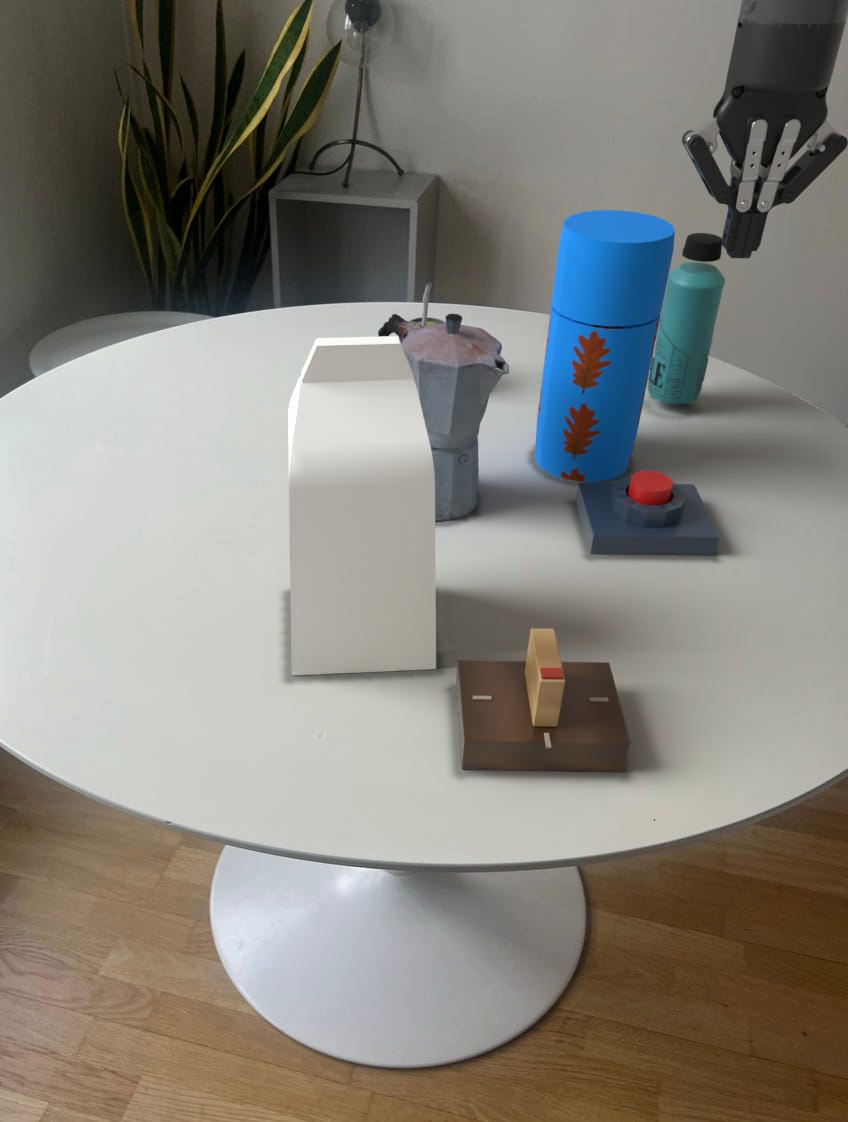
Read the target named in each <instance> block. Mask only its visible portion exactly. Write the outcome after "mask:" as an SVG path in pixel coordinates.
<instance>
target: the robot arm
mask: <svg viewBox="0 0 848 1122" xmlns="http://www.w3.org/2000/svg"><path fill="white" fill-rule="evenodd" d="M847 19H848V0H741V3H740V9H739V14H738V19H737V24H736V28H735V34H734V38H733V44H732V49H731V54H730V59H729V64H728V70H727V73H726V79H725V85H724V90H723V93H722V95H721V97H720V99H719V100H718V102H717V103H716V105H715V107H714V108H713V112H712V118H710V119H708V120H707V121H706V122H704V123H703V124H702V125H701V126H699V127H698V128H696V129H695V130H692V129H689V130H687V131H685V132H684V133H683V135H682V137H681V143H682V146H683V147H684V149H685V151H686V153H687V154H688V156H689V158H690V161H691V162H692V164H693V166H694V168H695V169H696V172H697V173H698V176H699V177H700V179H701V181H702V183H703V185H704V187H705V189H706V190H707V192H708V194H709V196H711V197H712V198H714V200H715V202H717V203H718V204H721V205H725V206H727V213H726V217H725V222H724V227H723V231H722V236H721V238H722V248H724V249H725V251H726V254H727V256H729V258H730V259H750V258H751V256H752V253H753V252H757V251H758V249H759V247H760V246H761V242H762V240H763V235H764V231H765V226H766V222H767V218H768V215H769V212H770V211H771V210H772V209H773V208H775V207H776V206H780V205H782V204H786V205H789V204H791V203H793V202H794V201H795V200H796V199H797V198H799V196H800V195H801V194H802V193H803V192H804V191H805V190H806V189H807V188H808V187H809V186H810V185H812V184H813V182H814V181H815V180H817V178H818V177H819V176H820V175H821V174H822V173H823V172H824V171H825V170H826V169H827V168H828V167H829V166H830V165H832V163H833V162H834V161H835V160H836V159H837V158H838V157H839V156H840V155H841V154H842V153H843V152H844V150H846V149H847V147H848V138H847V137H846V136H845V135H843V134H841V133H839V132H837V131H836V130H835V129H834V128H833V126H832V125H831V124H830V123H829V122H828V121H827V118H828V115H829V108H828V104H827V93H828V90H829V87H830V85H831V81H832V79H833V78H832V77H833V74H834V69H835V66H836V62H837V58H838V54H839V50H840V46H841V43H842V39H843V34H844V32H845V27H846V24H847ZM718 135H719V136H720V138H721V141H722V142H723V145H724V147H725V149H726V152H727V154H728V155H729V157H730V158H731V162H730V167H729V170H730V171H729V172H730V173H729V174H730V181H729V184H728V182H727V181H726V178H725V177H724V175H723V173H722V171H721V170H720V167H719V165H718V163H717V162H716V159H715V158H714V156H713V154H714V153H715V152H716V151H717V150H718V141H717V137H718ZM806 143H807V144H806ZM805 145H806V147H807V149H806V151H805V152H804V153H803V154H802V155H801V156H800V157H798V159H797V160H796V161H795V162H794V163H793V164H792V165H791V166H790V167H789V168H788V169H787V167H788V165H789V161H790V160H791V159H793V158H794V157H795V155H796V154H797V153H798V152H799V151H800V150H801V149H802V148H803V147H804V146H805Z"/></svg>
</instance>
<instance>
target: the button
mask: <svg viewBox="0 0 848 1122" xmlns="http://www.w3.org/2000/svg"><path fill="white" fill-rule="evenodd" d="M631 476H632V477H631V481H630V486H629V491H628V496H629V497H630V498H631V499H633V500H634V501H635V502H638V503H642V504H645V505H663V504H666V503H668V502H669V500H670V495H671V491H672V487H673V483H674V481H673V479H672V478H671V477H670V476H668V475H667V474H664V473H662V472H659V471H654V470H641V471H636V472H635V473H633V474H632V475H631Z"/></svg>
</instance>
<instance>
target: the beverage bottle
mask: <svg viewBox="0 0 848 1122" xmlns="http://www.w3.org/2000/svg"><path fill="white" fill-rule="evenodd" d="M722 248H723V246H722V236H719V235H716V234H713V233H707V232H695V233H690V234H688V235H687V237H686V239H685V242H684V246H683V248H682V254H681V255H682V257H683V258H685V259H688V260H690V261H689V262H683V263H681V264H680V265H678V266H677V267H675V268H674V269H672V271H671V272H669V275H668V280H667V285H666V290H665V295H664V300H663V305H662V310H661V314H660V320H659V325H658V330H657V336H656V341H655V346H654V351H653V356H652V361H651V366H650V371H649V376H648V383H647V386H646V388H647V392H648V395H649V396H650V397H651V398H653V399H655V400H656V401H659V402H661V403H662V402H663V403H666V404H671V405H687V404H691V403H693V402H695V401H697V400H698V398H699V396H700V395H701V394H702V392H701V391H702V390H703V387H704V383H705V378H706V377H705V376H706V375H707V374H706V372H707V368H708V365H709V359H710V355H711V347H712V345H713V342H714V341H713V338H714V332H715V326H716V321H717V317H718V313H719V308H720V303H721V299H722V294H723V290H724V286H725V284H726V278H725V275H723V273H722V272H721V270H720V269H719V268H718V267H717V266H716V265H713V264H710V262H716V261H719V260H720V259H721V256H722V250H723V249H722Z"/></svg>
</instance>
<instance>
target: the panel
mask: <svg viewBox="0 0 848 1122" xmlns="http://www.w3.org/2000/svg"><path fill="white" fill-rule="evenodd" d="M561 664H562V669H563V674H564V678H565V685H564V691H563V697H562V702H561V708H560V714H559V719H558V725H557V727H541V726H533V723H532V717H531V710H530V704H529V698H528V691H527V685H526V679H525V666H526V660H472V659H471V660H470V659H466V660H465V659H464V660H462V659H458V660H457V664H456V665H457V667H456V679H455V698H456V710H457V712H456V713H457V724H458V725H457V726H458V737H459V750H460V751H459V753H460V764H461V765H460V766H461V770H481V771H482V770H486V771H542V772H543V771H544V772H545V771H551V772H610V773H611V772H613V773H614V772H615V773H616V772H617V773H624V772H625V768H626V764H627V761H628V756H629V752H630V749H631V745H632V743H631V742H632V741H631V738H630V735H629V732H628V727H627V724H626V719H625V716H624V712H623V709H622V706H621V700H620V697H619V694H618V690H617V687H616V686H617V685H616V682H615V679H614V675H613V672H612V668H611V664H610V662H607V661H604V662H602V661H601V662H599V661H561Z"/></svg>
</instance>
